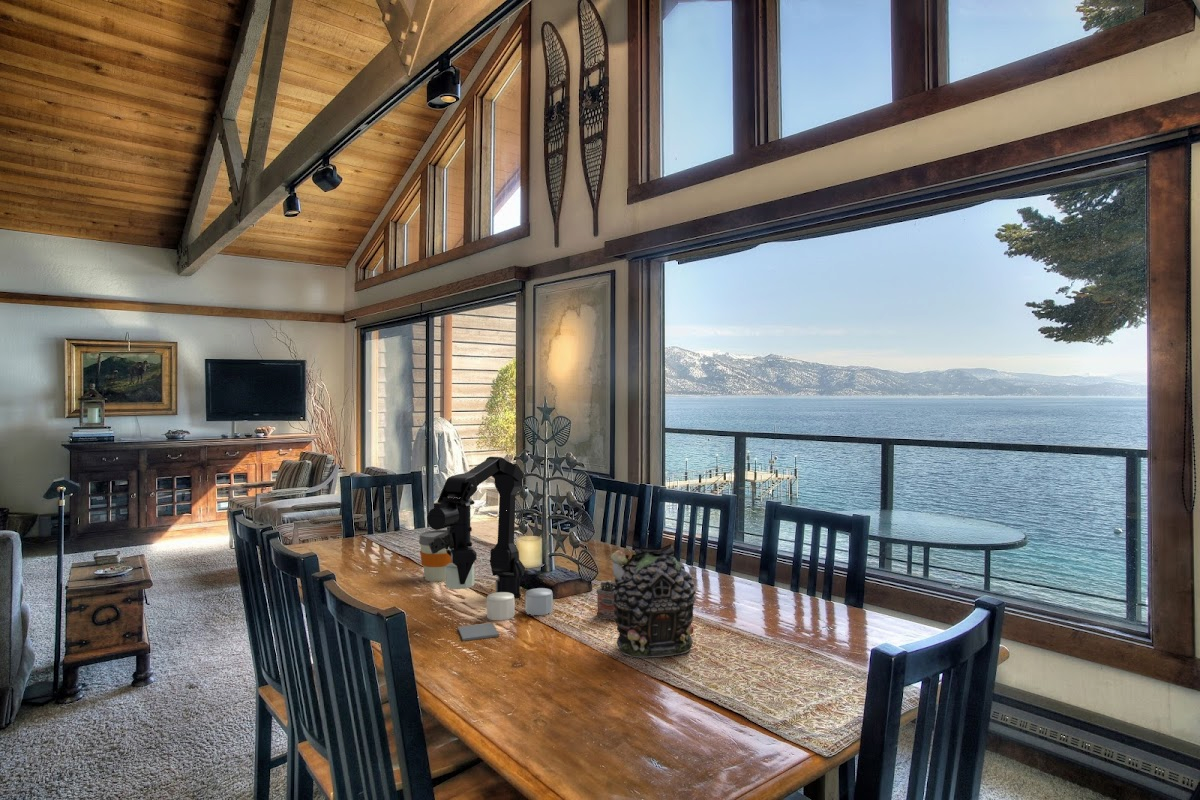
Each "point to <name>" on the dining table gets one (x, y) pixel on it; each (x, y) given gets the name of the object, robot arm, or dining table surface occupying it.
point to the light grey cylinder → (539, 601)
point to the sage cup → (453, 577)
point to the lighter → (605, 600)
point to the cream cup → (500, 606)
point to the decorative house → (652, 603)
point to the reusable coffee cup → (433, 558)
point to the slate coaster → (478, 631)
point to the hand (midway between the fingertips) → (460, 580)
